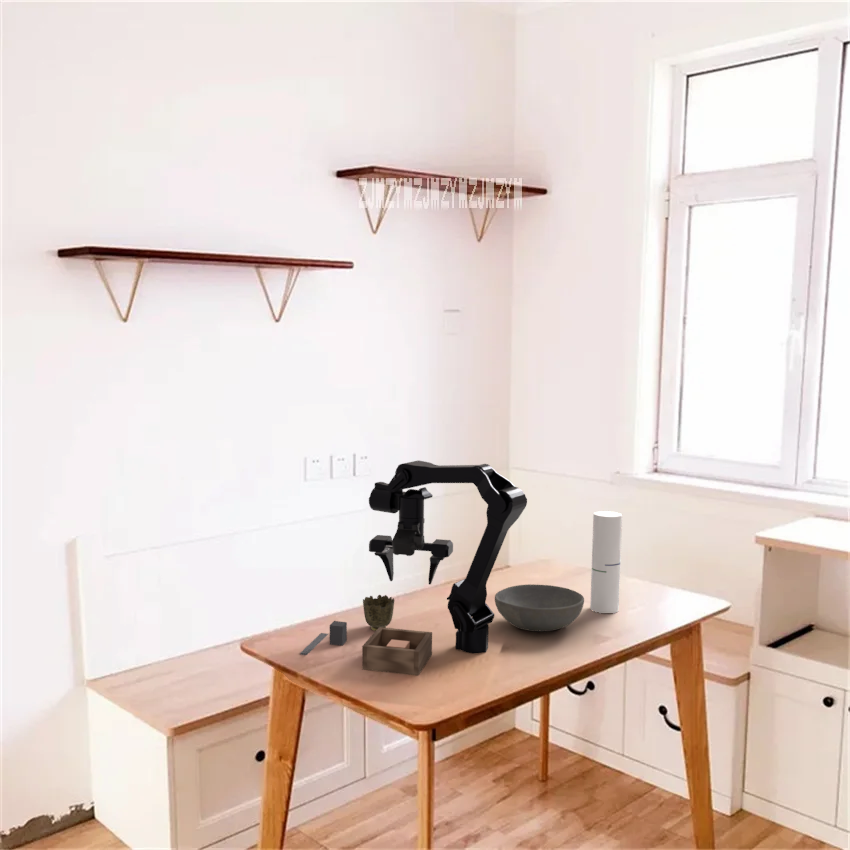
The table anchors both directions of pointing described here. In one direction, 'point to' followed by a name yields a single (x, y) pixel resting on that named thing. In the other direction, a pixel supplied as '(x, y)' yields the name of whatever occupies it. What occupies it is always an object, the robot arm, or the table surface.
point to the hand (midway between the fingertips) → (410, 582)
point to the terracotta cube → (399, 644)
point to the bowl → (539, 606)
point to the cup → (378, 611)
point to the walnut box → (397, 651)
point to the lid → (336, 636)
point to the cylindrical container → (606, 561)
